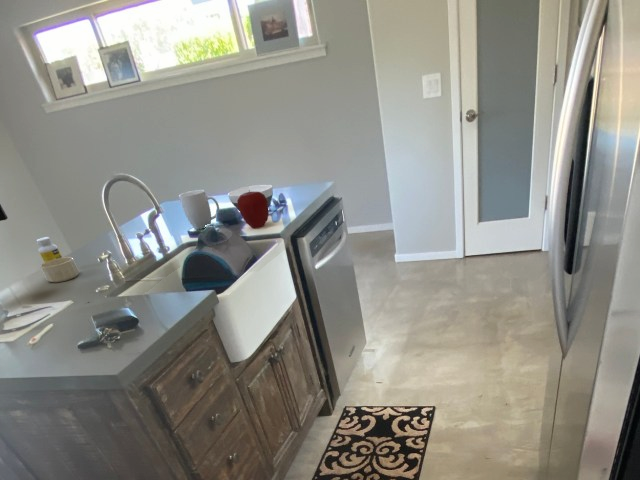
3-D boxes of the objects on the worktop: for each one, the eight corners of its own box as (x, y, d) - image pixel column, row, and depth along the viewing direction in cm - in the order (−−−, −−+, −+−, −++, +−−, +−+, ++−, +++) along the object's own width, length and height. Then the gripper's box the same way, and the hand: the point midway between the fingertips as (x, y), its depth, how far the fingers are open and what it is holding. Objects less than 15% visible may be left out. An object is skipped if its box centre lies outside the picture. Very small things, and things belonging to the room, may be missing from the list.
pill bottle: (60, 274, 194) (43, 240, 186) (47, 275, 195) (29, 242, 188) (72, 268, 198) (55, 235, 191) (58, 269, 200) (41, 236, 192)
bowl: (265, 219, 220) (258, 194, 214) (226, 221, 226) (219, 197, 220) (285, 207, 233) (279, 183, 227) (248, 210, 239) (241, 186, 233)
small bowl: (46, 285, 185) (37, 269, 181) (50, 277, 193) (42, 261, 189) (78, 278, 187) (70, 262, 183) (81, 270, 195) (73, 254, 191)
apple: (277, 221, 214) (268, 184, 205) (265, 230, 206) (256, 191, 197) (251, 223, 218) (241, 187, 209) (239, 231, 209) (228, 194, 201)
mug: (220, 220, 230) (210, 186, 222) (226, 224, 223) (216, 189, 214) (187, 228, 226) (176, 194, 217) (193, 232, 218) (181, 197, 210)
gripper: (-43, 149, 154) (-5, 217, 166) (-60, 154, 143) (-17, 227, 155) (-17, 144, 155) (20, 213, 167) (-31, 149, 144) (9, 222, 156)
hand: (2, 219), depth 161 cm, fingers closed
